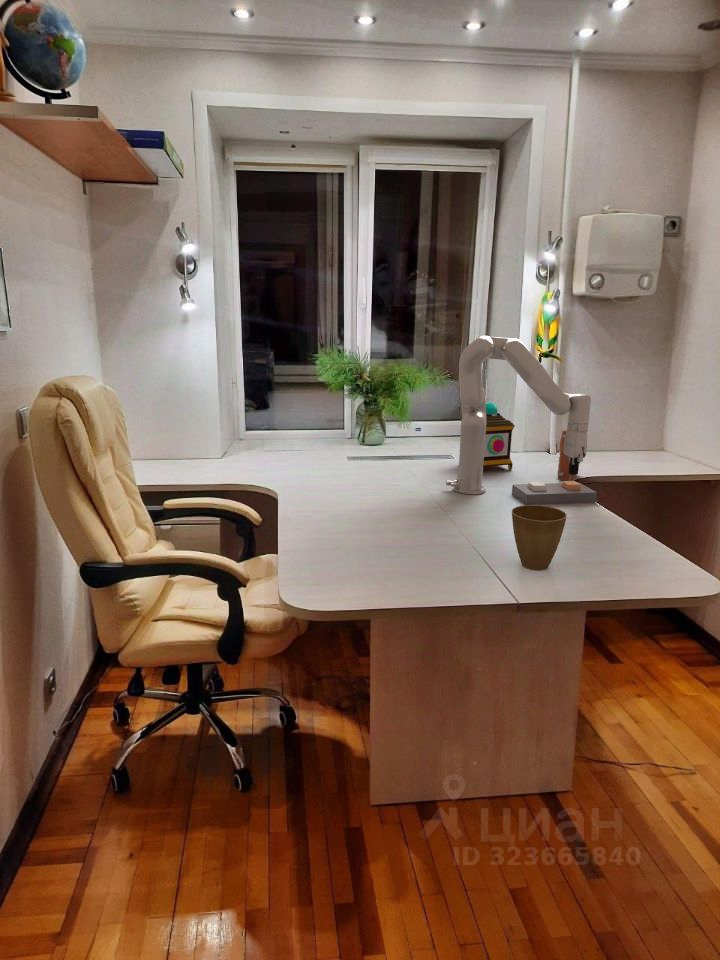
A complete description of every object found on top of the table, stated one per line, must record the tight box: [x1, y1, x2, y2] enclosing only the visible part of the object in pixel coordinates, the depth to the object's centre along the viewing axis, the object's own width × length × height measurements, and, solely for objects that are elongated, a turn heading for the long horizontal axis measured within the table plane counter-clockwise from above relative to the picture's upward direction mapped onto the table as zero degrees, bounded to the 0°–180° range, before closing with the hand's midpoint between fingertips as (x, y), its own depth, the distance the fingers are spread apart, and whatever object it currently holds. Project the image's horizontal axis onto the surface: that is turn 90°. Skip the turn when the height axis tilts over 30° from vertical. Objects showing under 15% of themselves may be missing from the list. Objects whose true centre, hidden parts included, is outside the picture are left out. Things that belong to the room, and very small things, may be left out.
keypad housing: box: [511, 482, 598, 505], centre depth 253 cm, size 28×14×4 cm, turn 100°
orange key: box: [561, 480, 582, 490], centre depth 253 cm, size 5×5×3 cm
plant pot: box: [511, 504, 568, 571], centre depth 185 cm, size 15×15×16 cm
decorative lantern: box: [483, 401, 516, 471], centre depth 295 cm, size 20×20×30 cm
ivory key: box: [527, 481, 546, 491], centre depth 251 cm, size 5×5×3 cm
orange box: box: [556, 427, 577, 481], centre depth 282 cm, size 21×7×15 cm
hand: (573, 474), depth 252 cm, fingers closed
